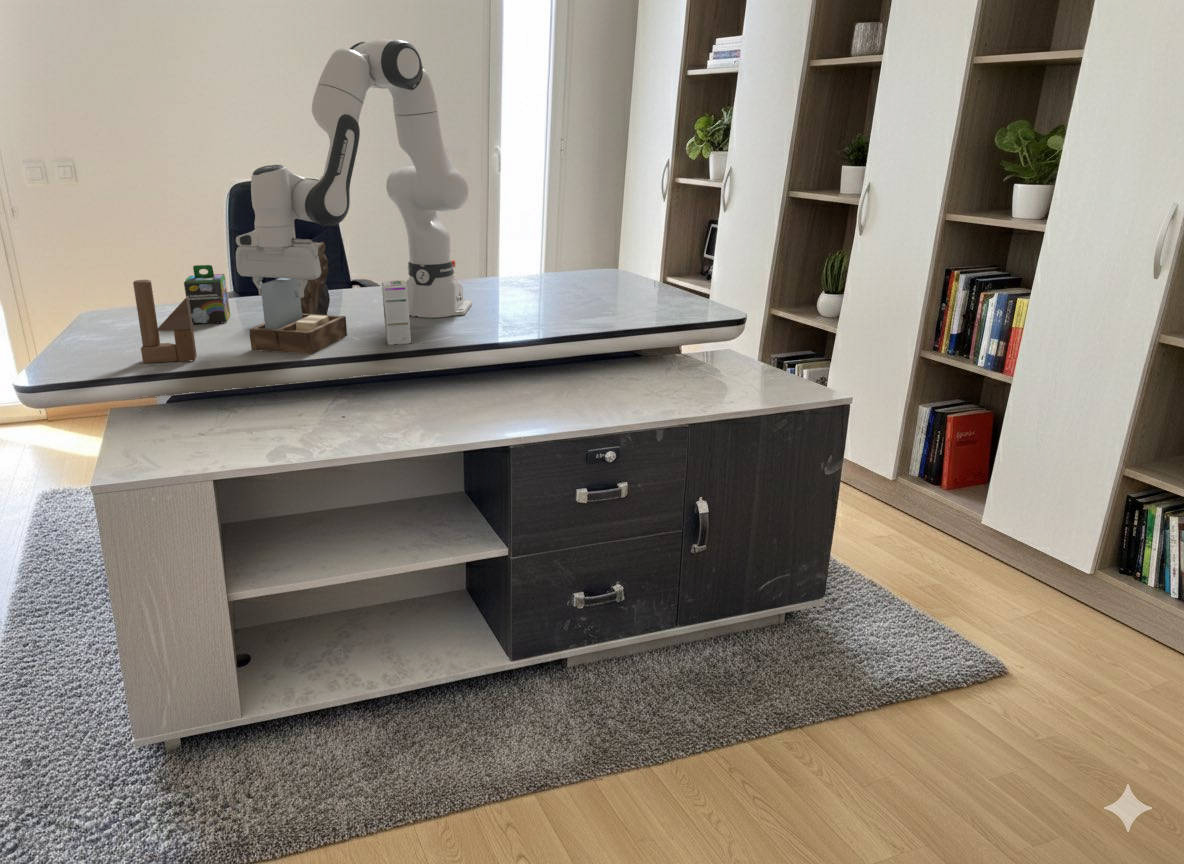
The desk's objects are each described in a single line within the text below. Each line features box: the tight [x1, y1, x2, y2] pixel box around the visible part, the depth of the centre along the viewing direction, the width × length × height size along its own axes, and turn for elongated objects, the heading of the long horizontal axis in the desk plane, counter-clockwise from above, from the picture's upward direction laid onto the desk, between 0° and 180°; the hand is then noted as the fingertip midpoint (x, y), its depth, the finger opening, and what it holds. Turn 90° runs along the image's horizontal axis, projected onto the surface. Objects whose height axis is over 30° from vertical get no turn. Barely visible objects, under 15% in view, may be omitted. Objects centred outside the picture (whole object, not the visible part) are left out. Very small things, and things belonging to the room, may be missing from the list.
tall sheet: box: [261, 278, 302, 329], centre depth 223 cm, size 12×3×15 cm, turn 168°
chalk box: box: [183, 264, 231, 324], centre depth 243 cm, size 9×9×15 cm
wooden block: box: [132, 279, 197, 364], centre depth 205 cm, size 4×11×18 cm, turn 105°
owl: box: [275, 241, 331, 315], centre depth 247 cm, size 13×13×20 cm
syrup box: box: [381, 280, 412, 346], centre depth 224 cm, size 6×6×14 cm
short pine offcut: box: [296, 315, 329, 331], centre depth 222 cm, size 8×5×2 cm, turn 171°
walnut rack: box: [248, 314, 348, 355], centre depth 224 cm, size 18×15×5 cm
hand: (281, 296), depth 221 cm, fingers open, 8 cm apart
